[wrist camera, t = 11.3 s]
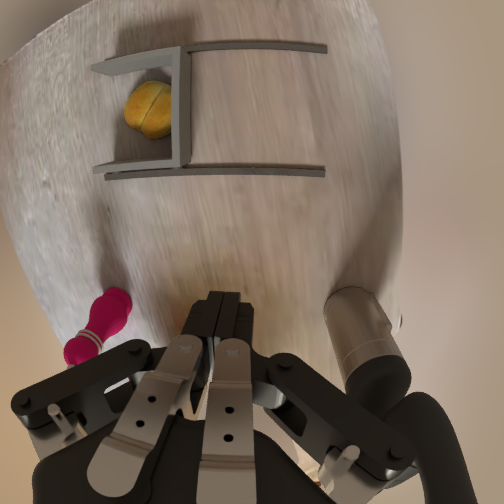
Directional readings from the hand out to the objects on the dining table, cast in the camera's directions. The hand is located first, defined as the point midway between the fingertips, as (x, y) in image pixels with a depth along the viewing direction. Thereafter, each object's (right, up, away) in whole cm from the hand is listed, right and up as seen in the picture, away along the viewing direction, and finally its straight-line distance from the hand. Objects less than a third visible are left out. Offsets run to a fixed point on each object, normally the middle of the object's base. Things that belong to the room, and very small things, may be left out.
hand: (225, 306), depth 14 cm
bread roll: (-13, +24, +23) cm, 35 cm away
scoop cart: (-14, +23, +22) cm, 35 cm away
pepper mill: (-24, -7, +36) cm, 44 cm away
